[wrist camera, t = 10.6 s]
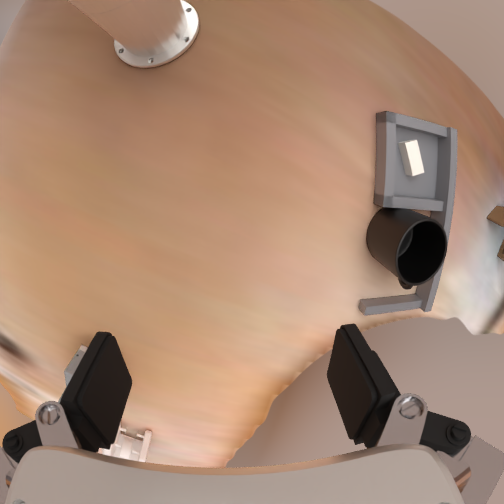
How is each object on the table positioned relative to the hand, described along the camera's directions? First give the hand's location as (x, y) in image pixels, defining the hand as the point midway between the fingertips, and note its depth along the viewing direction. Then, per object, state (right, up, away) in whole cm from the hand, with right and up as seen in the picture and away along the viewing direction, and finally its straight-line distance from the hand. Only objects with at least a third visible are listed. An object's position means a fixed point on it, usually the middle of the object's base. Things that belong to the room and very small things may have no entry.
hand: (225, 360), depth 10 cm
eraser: (+25, +19, +24) cm, 39 cm away
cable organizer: (-30, -43, +44) cm, 68 cm away
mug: (+23, +6, +29) cm, 38 cm away
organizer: (+26, +10, +28) cm, 39 cm away
